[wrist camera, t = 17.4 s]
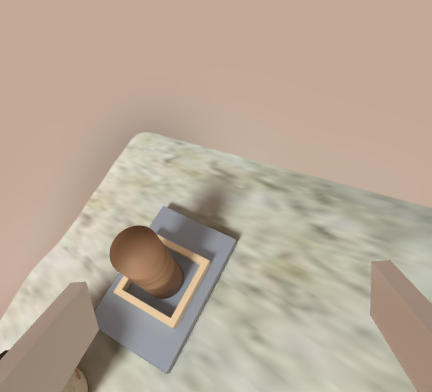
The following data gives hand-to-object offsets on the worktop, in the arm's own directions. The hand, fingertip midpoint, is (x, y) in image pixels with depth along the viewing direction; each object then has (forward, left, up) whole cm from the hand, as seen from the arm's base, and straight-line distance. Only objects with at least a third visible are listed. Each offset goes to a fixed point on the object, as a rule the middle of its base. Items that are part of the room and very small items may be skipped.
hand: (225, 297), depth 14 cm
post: (+12, -2, -25) cm, 28 cm away
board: (+12, -2, -27) cm, 29 cm away
